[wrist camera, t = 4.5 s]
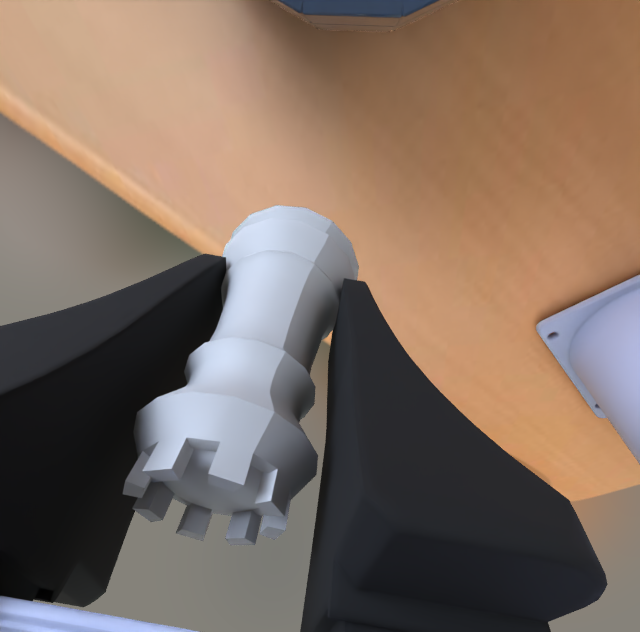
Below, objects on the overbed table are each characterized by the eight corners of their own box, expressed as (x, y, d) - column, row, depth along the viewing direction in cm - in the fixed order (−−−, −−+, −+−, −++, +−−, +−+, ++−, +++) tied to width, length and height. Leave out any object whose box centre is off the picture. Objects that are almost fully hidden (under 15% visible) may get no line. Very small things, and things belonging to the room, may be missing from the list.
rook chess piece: (273, 168, 10) (91, 364, 3) (387, 257, 11) (419, 523, 4) (209, 271, 12) (33, 503, 6) (309, 334, 13) (257, 581, 7)
